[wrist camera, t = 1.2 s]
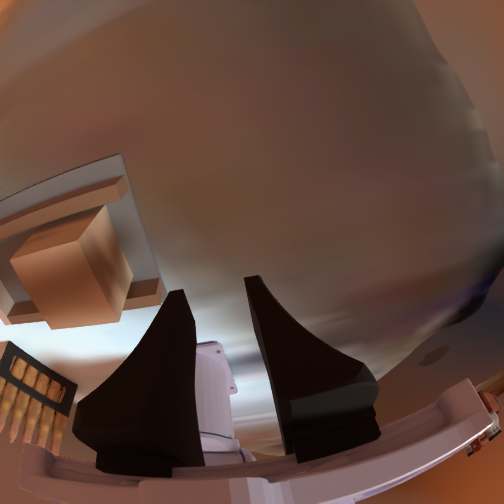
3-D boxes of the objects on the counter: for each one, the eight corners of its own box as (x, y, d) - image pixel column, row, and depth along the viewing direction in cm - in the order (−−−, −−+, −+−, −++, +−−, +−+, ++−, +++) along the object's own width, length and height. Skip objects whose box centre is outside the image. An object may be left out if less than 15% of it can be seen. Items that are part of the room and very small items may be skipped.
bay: (169, 297, 22) (166, 318, 20) (20, 319, 22) (11, 335, 20) (120, 153, 16) (109, 162, 14) (-34, 219, 15) (-48, 232, 13)
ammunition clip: (7, 346, 24) (-24, 423, 14) (9, 340, 23) (-24, 420, 13) (73, 389, 29) (57, 467, 19) (78, 385, 28) (61, 467, 18)
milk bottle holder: (479, 389, 61) (503, 431, 44) (494, 391, 74) (512, 423, 58) (432, 427, 69) (451, 468, 52) (458, 421, 82) (473, 453, 66)
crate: (133, 275, 20) (118, 321, 16) (72, 287, 20) (51, 329, 16) (105, 204, 17) (77, 240, 13) (42, 224, 17) (9, 260, 13)
